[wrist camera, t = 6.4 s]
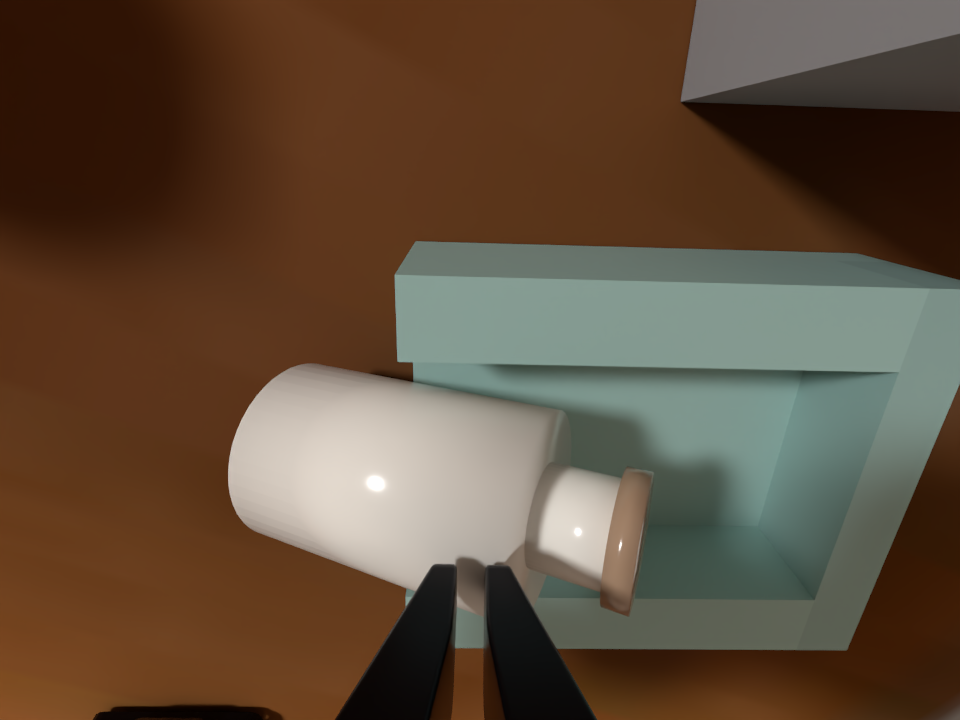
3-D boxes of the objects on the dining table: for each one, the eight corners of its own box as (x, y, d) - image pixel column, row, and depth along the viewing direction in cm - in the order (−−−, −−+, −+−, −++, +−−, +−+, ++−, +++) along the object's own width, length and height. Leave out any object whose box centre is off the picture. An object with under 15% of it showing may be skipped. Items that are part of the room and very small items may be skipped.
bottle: (360, 476, 16) (645, 558, 12) (245, 573, 12) (608, 726, 9) (347, 342, 14) (668, 394, 11) (211, 404, 10) (637, 512, 7)
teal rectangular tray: (767, 545, 18) (846, 650, 14) (420, 540, 17) (407, 647, 13) (856, 253, 14) (999, 290, 10) (415, 241, 13) (394, 275, 10)
